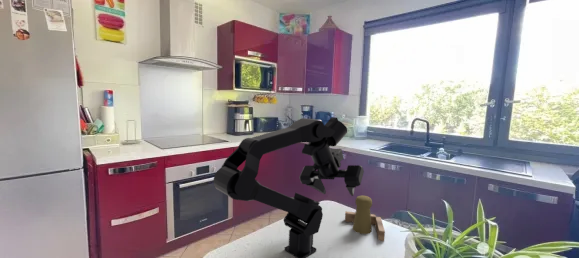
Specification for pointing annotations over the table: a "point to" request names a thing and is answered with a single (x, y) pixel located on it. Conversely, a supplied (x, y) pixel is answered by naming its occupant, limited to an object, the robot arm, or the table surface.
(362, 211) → the olive yellow tapered cone
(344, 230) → the table surface
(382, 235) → the v block
